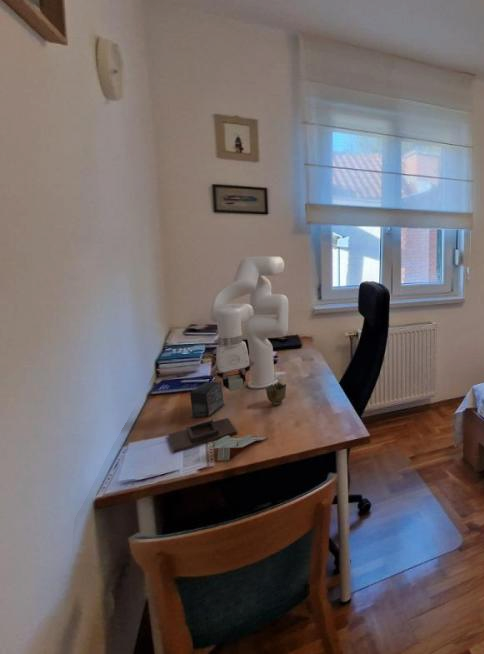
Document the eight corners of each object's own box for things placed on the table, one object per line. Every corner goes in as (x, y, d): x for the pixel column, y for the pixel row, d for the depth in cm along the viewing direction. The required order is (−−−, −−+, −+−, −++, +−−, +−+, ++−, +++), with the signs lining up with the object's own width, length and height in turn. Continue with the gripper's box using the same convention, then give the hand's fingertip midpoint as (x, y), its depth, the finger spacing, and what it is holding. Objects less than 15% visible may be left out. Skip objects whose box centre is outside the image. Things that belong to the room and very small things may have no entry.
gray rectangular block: (239, 382, 164) (238, 374, 163) (243, 388, 159) (242, 379, 158) (226, 385, 161) (225, 377, 160) (230, 391, 156) (229, 383, 155)
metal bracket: (247, 441, 133) (198, 443, 131) (245, 460, 132) (196, 462, 131) (268, 431, 147) (224, 432, 146) (267, 448, 146) (222, 450, 145)
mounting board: (228, 420, 159) (227, 414, 158) (236, 433, 149) (236, 427, 148) (168, 436, 146) (167, 430, 146) (173, 453, 136) (173, 446, 136)
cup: (291, 402, 174) (290, 384, 173) (275, 409, 168) (274, 391, 166) (279, 399, 177) (278, 381, 176) (263, 406, 171) (261, 387, 169)
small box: (208, 405, 171) (205, 381, 169) (224, 405, 171) (222, 381, 170) (191, 417, 160) (188, 392, 159) (209, 417, 161) (206, 391, 159)
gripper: (205, 347, 148) (210, 395, 151) (258, 338, 160) (261, 382, 163) (201, 342, 153) (206, 388, 156) (253, 333, 165) (256, 377, 168)
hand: (234, 385), depth 159 cm, fingers closed on gray rectangular block, 4 cm apart
